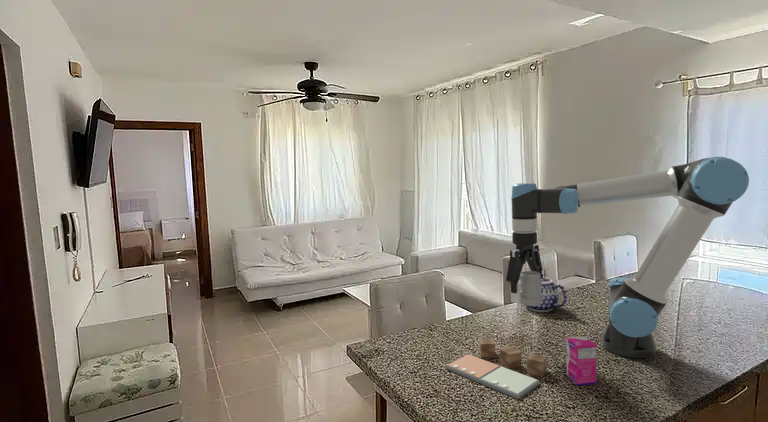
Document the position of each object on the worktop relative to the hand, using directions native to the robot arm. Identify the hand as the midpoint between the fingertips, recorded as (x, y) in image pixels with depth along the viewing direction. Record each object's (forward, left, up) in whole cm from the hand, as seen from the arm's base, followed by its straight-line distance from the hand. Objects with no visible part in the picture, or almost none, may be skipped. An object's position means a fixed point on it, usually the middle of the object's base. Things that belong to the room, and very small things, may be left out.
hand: (525, 298), depth 139 cm
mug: (0, 0, -2) cm, 2 cm away
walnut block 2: (-3, +13, -17) cm, 22 cm away
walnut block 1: (+6, +12, -17) cm, 22 cm away
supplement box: (-22, +8, -17) cm, 29 cm away
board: (-3, +24, -17) cm, 29 cm away
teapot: (+16, -41, -17) cm, 47 cm away
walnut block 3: (-11, +12, -17) cm, 23 cm away
